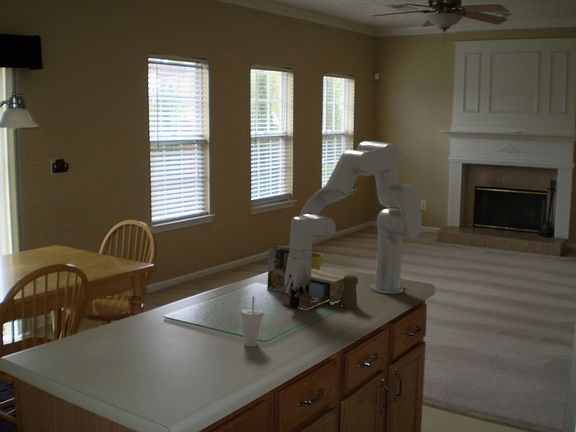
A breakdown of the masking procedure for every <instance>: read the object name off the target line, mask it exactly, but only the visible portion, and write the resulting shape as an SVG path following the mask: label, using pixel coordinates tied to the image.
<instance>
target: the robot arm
mask: <svg viewBox="0 0 576 432" xmlns="http://www.w3.org/2000/svg"><path fill="white" fill-rule="evenodd" d="M401 153H402V151H401V149H400V147H399V146H398V145H397V144H395V143H391V142H382V141H376V140H375V141H373V140H365V141H362V142H360V143H359V144H358V145H357V148H356V149H348V150H345V151H343V153H341V155H340V157H339V158H338V161H337V163H336V164H335V167H334V168H333V171H332V172H331V174H330V177H329V178H328V180H327V182H326V184H325V185H324V186H322V187H321V188H320V189H318V190H317V191H316V192H315V193H313V195H311V196H310V197H309V198H308V199H307V201H306V202H305V204H304V205H303V207H302V209H301V211H300V213H299V216H294V217H293V218H292V219H291V221H290V222H291V223H290V234H289V235H290V238H289V247H290V250H289V258H288V261H287V266H286V273H285V286H287V288H286V290H287V291H288V292H289V295H290V306H289V307H290V308H294V307H295V308H294V309H298V306H299V297H298V293H301V294H306V289H307V287H308V286H309V284H310V281H311V255H312V252H313V239H322V240H323V239H328V238H331V237H332V236H333V235H334V234H335V233H336V229H337V226H336V223H335V221H334V220H333V219H332V218H331V217H329V216H325V215H320V212H321V211H322V210H323V209H324V208H325V207H326V206H328V205H330V204H332V203H335V202H338V201H340V200H343V199H346V198H347V197H348V196H349V195H350V193H351V191H352V188H353V187H354V184H355V183H356V180H357V179H358V176H365V177H372V176H374V178H375V186H376V193H377V194H376V195H377V199H378V202H379V204H380V205H382V206H383V207H387V208H384V209H382V210H380V212H379V213H378V214H377V217H376V225H377V226H376V227H377V228H376V229H377V249H376V250H377V251H376V260H375V261H376V263H375V271H374V272H375V273H374V283H371V284H370V288H369V289H370V290H371V291H373V292H375V293H376V292H377V293H380V294H387V295H397V294H401V293H403V292H404V287H402V286H400V284H401V282H403V277H402V276H401V271H402V260H403V259H402V258H403V250H404V247H403V246H404V243H403V240H402V237H404V238H408V239H410V238H411V239H412V238H416V237H418V235H419V234H420V232H421V229H422V225H423V224H422V223H423V222H422V221H423V220H422V210H421V201H420V195H419V192H418V190H417V189H416V188H415V187H414V185H411V184H407V183H403V182H401V181H400V177H399V172H398V168H397V167H398V166H397V164H398V163H399V162H400V159H401V156H402V154H401ZM293 285H294V286H293ZM293 289H294V290H293ZM295 289H296V290H295Z"/></svg>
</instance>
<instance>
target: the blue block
mask: <svg viewBox="0 0 576 432" xmlns="http://www.w3.org/2000/svg"><path fill="white" fill-rule="evenodd" d="M330 285H331V284H330V283H326V282H321V281H317V280H315V281H312V282H310V284H309V295H310V296H312V297H313V298H318V299H319V298H321V297H324V296H327V295H329V294H330Z"/></svg>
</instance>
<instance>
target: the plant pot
mask: <svg viewBox="0 0 576 432" xmlns="http://www.w3.org/2000/svg"><path fill="white" fill-rule="evenodd" d="M323 261H324V254H321V253H319V252H314V251H312V255H311V269H316V270H320V269H321V266H322V265H323V263H324V262H323Z"/></svg>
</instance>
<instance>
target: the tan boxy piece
mask: <svg viewBox="0 0 576 432" xmlns="http://www.w3.org/2000/svg"><path fill="white" fill-rule="evenodd" d="M344 276H346V275H345V274H339V273H334V272H329V271H325V270H316V269H311V281H310V282H312V281H315V280H317V281H321V282H326V283H330V284H331V285H330V298H329V302H335V301H338V300H341V297H342V293H343V288H344V283H343V278H344ZM294 290H296V289H294ZM308 290H309V286H308V287H307V289H306V291H308ZM329 302H328V303H329Z"/></svg>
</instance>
